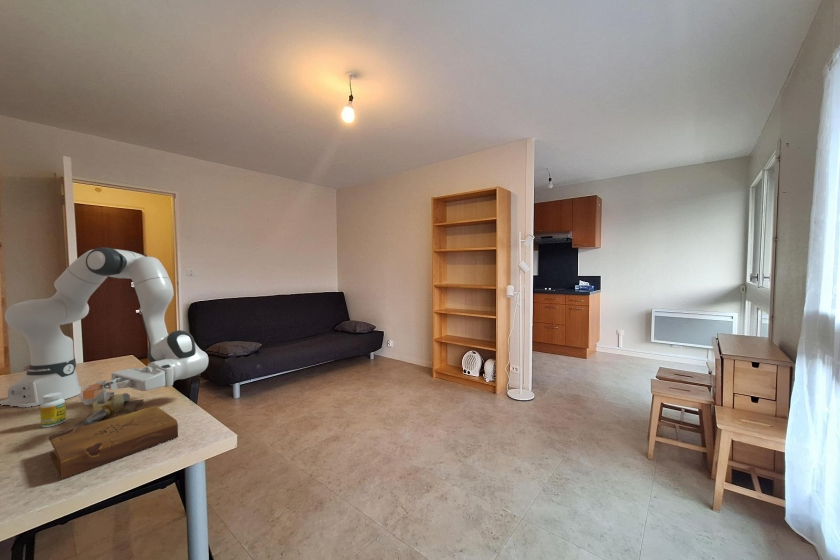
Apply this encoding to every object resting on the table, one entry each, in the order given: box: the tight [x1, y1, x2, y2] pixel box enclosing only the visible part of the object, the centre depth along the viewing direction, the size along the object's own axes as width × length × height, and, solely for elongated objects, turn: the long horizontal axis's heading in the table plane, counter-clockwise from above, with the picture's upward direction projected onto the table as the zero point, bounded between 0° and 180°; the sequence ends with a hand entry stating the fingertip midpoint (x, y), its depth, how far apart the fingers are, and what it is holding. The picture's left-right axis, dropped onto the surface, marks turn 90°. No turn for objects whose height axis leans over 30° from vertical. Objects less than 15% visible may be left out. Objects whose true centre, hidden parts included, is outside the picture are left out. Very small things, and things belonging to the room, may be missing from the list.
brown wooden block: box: [48, 405, 179, 480], centre depth 90 cm, size 23×19×6 cm
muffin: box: [78, 384, 97, 406], centre depth 119 cm, size 6×6×7 cm
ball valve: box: [84, 392, 131, 425], centre depth 108 cm, size 20×5×6 cm, turn 20°
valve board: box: [66, 398, 145, 431], centre depth 108 cm, size 20×11×2 cm, turn 20°
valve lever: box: [82, 379, 115, 405], centre depth 101 cm, size 17×3×7 cm, turn 29°
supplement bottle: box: [39, 392, 67, 428], centre depth 103 cm, size 5×5×10 cm
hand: (107, 386), depth 100 cm, fingers closed
